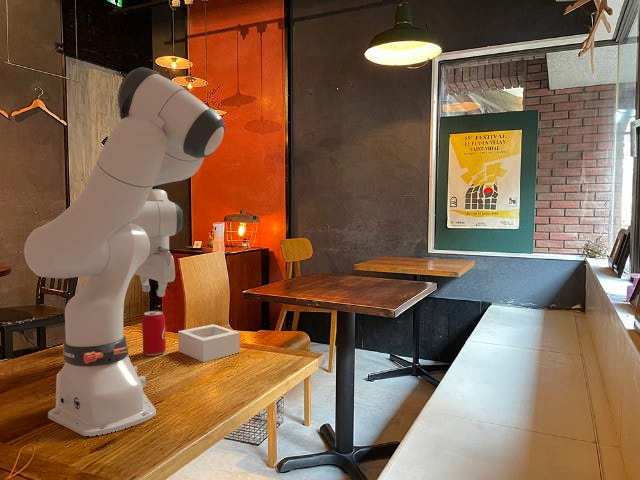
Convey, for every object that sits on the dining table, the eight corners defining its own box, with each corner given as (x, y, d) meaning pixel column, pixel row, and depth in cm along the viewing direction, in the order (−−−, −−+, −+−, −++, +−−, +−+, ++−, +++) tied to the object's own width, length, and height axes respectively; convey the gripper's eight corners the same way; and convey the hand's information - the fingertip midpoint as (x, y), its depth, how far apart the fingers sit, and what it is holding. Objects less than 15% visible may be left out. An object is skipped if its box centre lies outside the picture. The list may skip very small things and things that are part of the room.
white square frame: (239, 352, 137) (239, 332, 136) (203, 362, 128) (203, 340, 128) (213, 343, 146) (213, 324, 146) (178, 351, 138) (178, 331, 138)
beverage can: (169, 350, 139) (168, 310, 138) (160, 357, 133) (159, 315, 132) (149, 349, 139) (148, 310, 138) (139, 356, 133) (138, 314, 132)
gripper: (180, 248, 129) (181, 298, 130) (148, 242, 143) (148, 287, 144) (158, 249, 124) (159, 301, 125) (127, 243, 139) (128, 289, 140)
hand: (153, 293), depth 135 cm, fingers open, 8 cm apart
